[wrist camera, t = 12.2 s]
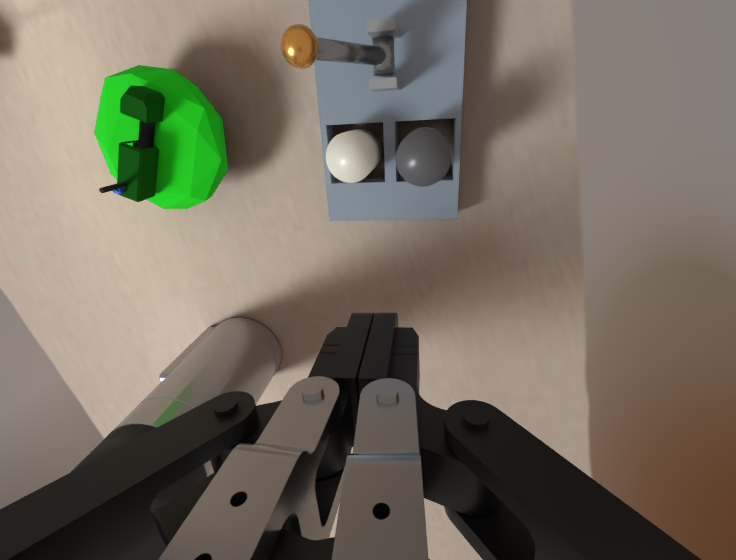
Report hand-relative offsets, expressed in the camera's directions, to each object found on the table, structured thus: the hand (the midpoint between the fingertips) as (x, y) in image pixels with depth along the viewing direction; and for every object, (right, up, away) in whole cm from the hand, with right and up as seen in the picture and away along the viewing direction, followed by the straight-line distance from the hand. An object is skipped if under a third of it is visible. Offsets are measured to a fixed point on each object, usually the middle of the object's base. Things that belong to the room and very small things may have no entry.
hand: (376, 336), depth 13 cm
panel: (+2, +20, +20) cm, 28 cm away
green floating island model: (-18, +16, +25) cm, 35 cm away
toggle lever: (+1, +18, +15) cm, 24 cm away
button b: (+5, +13, +19) cm, 24 cm away
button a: (-1, +14, +23) cm, 27 cm away
